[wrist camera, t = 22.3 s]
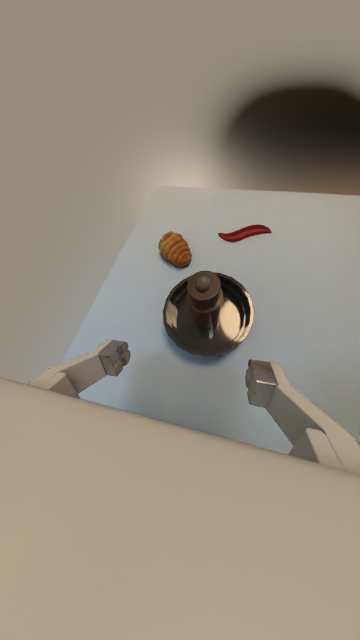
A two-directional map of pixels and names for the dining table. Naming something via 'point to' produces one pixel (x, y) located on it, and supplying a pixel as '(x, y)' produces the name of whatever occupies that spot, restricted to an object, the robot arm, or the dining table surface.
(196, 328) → the pan
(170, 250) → the pastry
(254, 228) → the cayenne pepper
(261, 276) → the dining table surface
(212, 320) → the pepper mill
